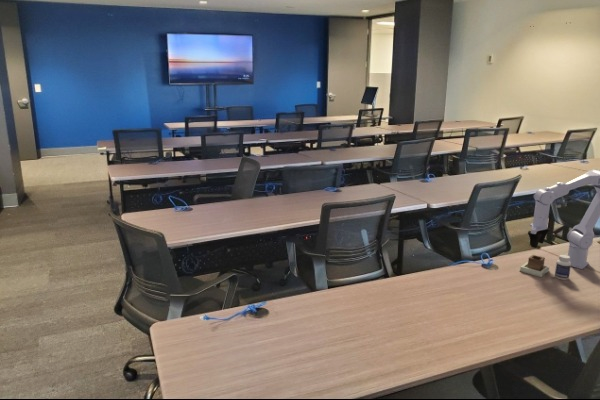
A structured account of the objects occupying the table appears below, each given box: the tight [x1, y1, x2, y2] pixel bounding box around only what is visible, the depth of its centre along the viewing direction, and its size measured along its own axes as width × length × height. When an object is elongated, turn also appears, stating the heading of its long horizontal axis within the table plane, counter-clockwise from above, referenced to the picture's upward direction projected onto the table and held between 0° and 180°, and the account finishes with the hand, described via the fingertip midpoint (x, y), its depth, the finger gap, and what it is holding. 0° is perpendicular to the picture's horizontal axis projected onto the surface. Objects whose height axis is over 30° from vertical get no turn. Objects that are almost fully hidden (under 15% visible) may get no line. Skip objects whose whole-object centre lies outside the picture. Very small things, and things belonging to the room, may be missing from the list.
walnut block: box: [527, 254, 546, 271], centre depth 201 cm, size 5×5×6 cm
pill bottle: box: [554, 254, 572, 281], centre depth 194 cm, size 5×5×10 cm
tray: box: [519, 261, 550, 278], centre depth 201 cm, size 9×9×2 cm
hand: (537, 244), depth 205 cm, fingers open, 7 cm apart
